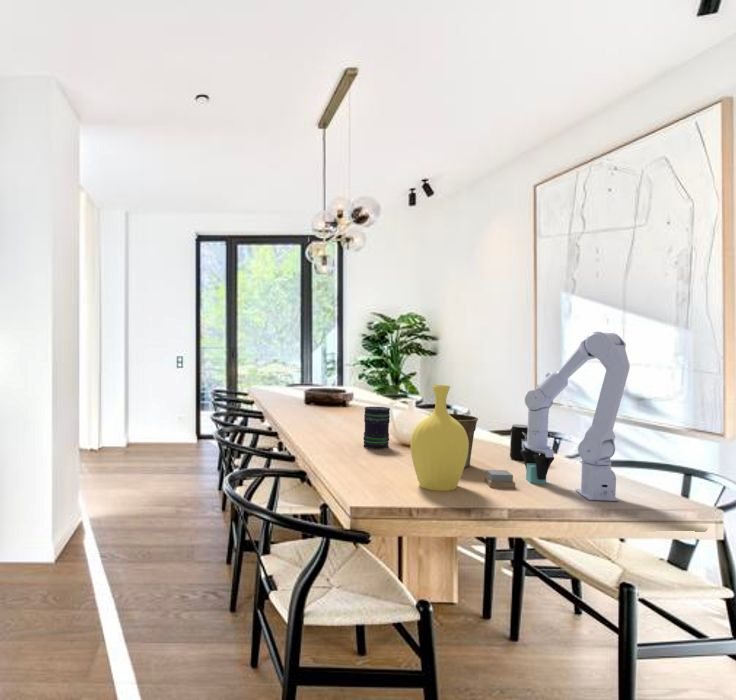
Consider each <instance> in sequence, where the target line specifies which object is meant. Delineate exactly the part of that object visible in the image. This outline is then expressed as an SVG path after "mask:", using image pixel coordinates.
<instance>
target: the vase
mask: <svg viewBox="0 0 736 700" xmlns="http://www.w3.org/2000/svg"><path fill="white" fill-rule="evenodd" d="M432 389H433V392H434V394H435V404H434V405H435V406H434V410H433V412H432V413H430V414H431V415H430V414H429V415H428V416H426V417H424V418H423V419H422V420H421V421H419V423H418V424H416V426H415V428H414V429H413V432H412V433H411V437H410V453H411V459H412V463H413V467H414V472H415V475H416V479H417V482H418V484H419V486H420V487H421V488H422V489H426V490H429V491H437V492H438V491H439V492H449V491H454V490H456V489H457V487H458V484H459V482H460V480H461V477H462V475H463V472H464V469H465V468H464V467H465V463H466V460H467V456H468V450H469V441H468V436H467V433H466V431H465V429H464V428H463V426H462V425H461V424H460V423H459V422H458V421H456V420H455V419H454V418H453V417H451V416H450V415H449V414H450V413H449V412H448V410H447V409H448V408H447V398H448V394H449V392H450V390H451V386H450V385H442V384H434V385H432Z"/></svg>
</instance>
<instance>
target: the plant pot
mask: <svg viewBox="0 0 736 700" xmlns="http://www.w3.org/2000/svg"><path fill="white" fill-rule="evenodd" d="M431 414H432V413H430V414H429V415H431ZM448 414H449V415H450V416H451V417H453V418H454V419H455V420H456V421H458V422H459V423H460V424H461V425H462V426H463V428H464V429H465V431H466V433H467V436H468V441H469V450H468V456H467V460H466V463H465V467H464V469H466V468H469V467H470V465H471V458H472V457H471V456H472V451H473V444H474V443H473V442H474V435H475V431H476V429H477V423H478V421H479V417H477V416H473V415H468V414H460V413H448Z"/></svg>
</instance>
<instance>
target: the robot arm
mask: <svg viewBox="0 0 736 700" xmlns="http://www.w3.org/2000/svg"><path fill="white" fill-rule="evenodd" d="M626 346H627V344H626V342H625V341H624V340H623V339H622V337H621V336H620V335H619V334H617V333H615V332H601V331H594V332H591V333H589V334H588V335H587V337H586V338H585V339H584V340H581V342H580V344H579V345H578V347H577V348H576V350H575V351H574V352H573V353H572V354H571V356H570V357H569V358H568V359H567V360H566V361H565V362H564V363H563V365H562V366H561V367H560V368H559V370H553V371H551V372H547V373H546V374H545V378H544V379H543V380H542V382H540V384H537V385H536V386H535V389H531V390H528V391H527V393H526V395H525V396H524V404H525V406H526V407H527V408H528V409H527V426H528V433H527V441H522V448H525V450H521V451H520V452H521V454H522V456H523V459H524V461H523V462H524V465H525V468H526V467H527V463H536V467H537V478H538V479H539V480H545V479H546V480H547V475H548V471H549V469H550V466H551V464H552V463H553V461H554V460H555V456H554V455H555V454H554V453H555V451H554V450H553V449H551V445H549V444H548V442H549V441H548V438H549V436H548V435H549V414H550V409H551V407H552V406H553V402H554V400H555V399H556V398H557V396H559V394H560V393H562V392H563V391H564V389H566V387H567V386H568V384H569V379H570V377H571V376H573V374H575V373H576V372H577V371H578V370H579V369H580V368H581V367H582V366H583V365H584V364H586V363H587V362H588V361H591V360H594V359H597V360H598V361H599V362H600V363H601V364H602V366H603V367H604V368H605V374H604V378H603V381H602V386H601V389H600V392H599V396H598V401H597V403H596V407H595V411H594V415H593V418H592V423H591V425H590V426H589V428H588V430H586V432H585V434H584V437H583V439H582V440H581V441H580V443H579V444H578V447H577V454H578V455H579V457H580V459H581V474H580V475H581V479H580V480H581V482H580V488H575V489H574V490H575V492H576V493H578V494H580V495H582V496H583V498H585V499H587V500H589V501H607V502H608V501H609V502H610V501H611V502H613V501H614V502H619V501H620V499H619V498H618V497H616V495H617V494H616V493H617V491H616V490H617V489H616V488H617V477H616V474H615V472H614V470H612V460H611V458H612V457H614V455H615V454H616V445H615V440H616V433H614V427H615V424H616V420H617V416H618V412H619V408H620V405H621V401H622V398H623V394H624V390H625V387H626V382H627V380H628V375H629V372H630V367H631V365H630V362H629V358H628V354H627V350H626Z"/></svg>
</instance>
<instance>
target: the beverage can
mask: <svg viewBox="0 0 736 700" xmlns="http://www.w3.org/2000/svg"><path fill="white" fill-rule="evenodd" d="M527 433H528V424H527V425H526V424H512V425H511V428H510V446H509V457H510V459H511V460H513V459H514V460H513V461H517V460H519V461H518V462H524V459H523V456H522V454H521V452H520V451H521V450H525V448H522V441H527Z"/></svg>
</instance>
